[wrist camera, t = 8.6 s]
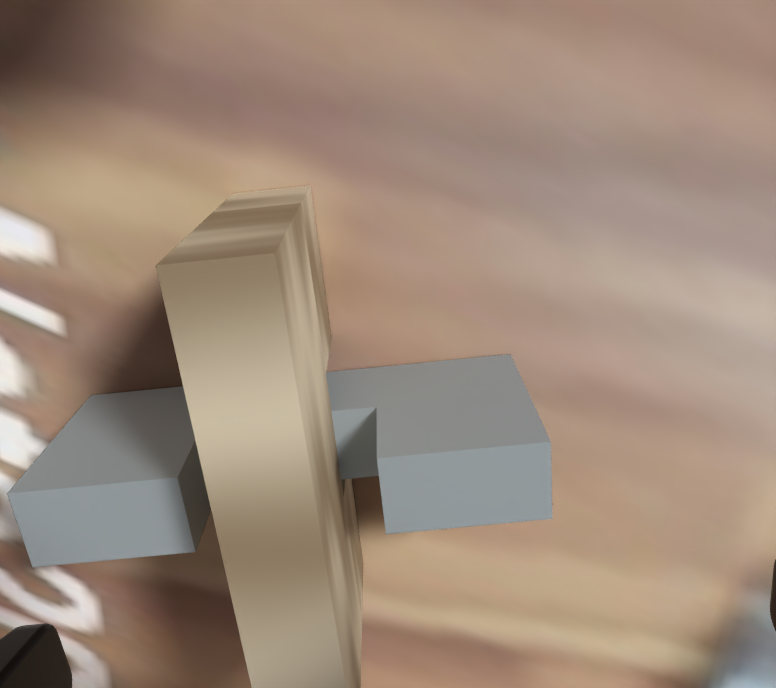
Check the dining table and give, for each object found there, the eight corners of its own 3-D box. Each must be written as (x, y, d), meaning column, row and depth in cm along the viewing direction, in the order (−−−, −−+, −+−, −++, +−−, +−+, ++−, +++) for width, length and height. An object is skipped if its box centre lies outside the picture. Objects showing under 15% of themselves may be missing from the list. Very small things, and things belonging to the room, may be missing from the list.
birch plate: (363, 564, 23) (358, 766, 16) (300, 570, 23) (271, 773, 16) (310, 185, 18) (275, 253, 12) (233, 193, 18) (155, 265, 12)
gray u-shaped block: (512, 416, 21) (552, 518, 16) (107, 455, 21) (32, 567, 16) (510, 353, 20) (551, 441, 16) (91, 395, 20) (7, 493, 16)
